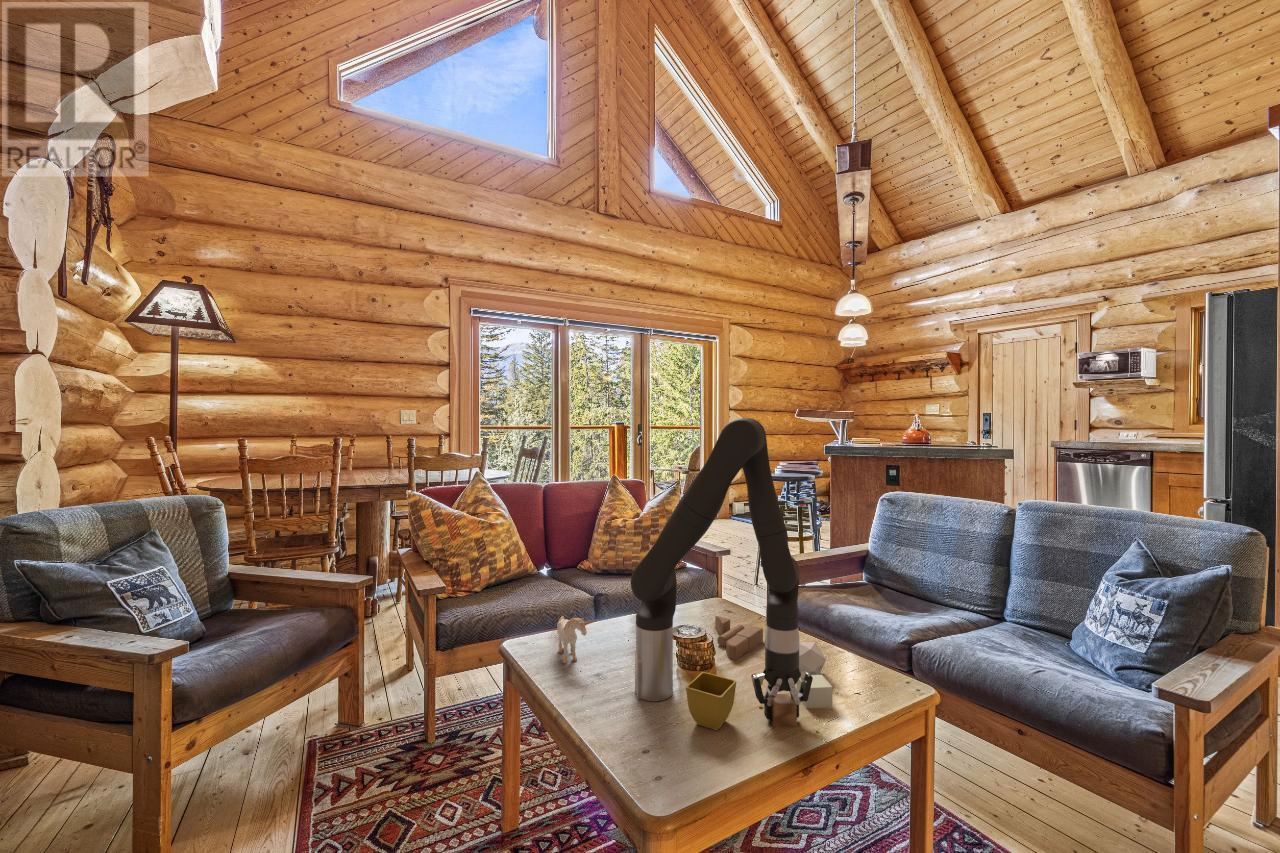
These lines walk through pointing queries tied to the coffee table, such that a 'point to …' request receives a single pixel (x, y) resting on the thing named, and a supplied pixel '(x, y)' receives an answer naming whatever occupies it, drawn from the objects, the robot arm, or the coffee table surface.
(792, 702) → the walnut block
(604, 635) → the coffee table surface
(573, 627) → the unicorn figurine
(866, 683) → the coffee table surface
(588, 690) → the coffee table surface
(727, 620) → the wooden block set
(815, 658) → the die
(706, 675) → the flower pot
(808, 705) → the sage block
